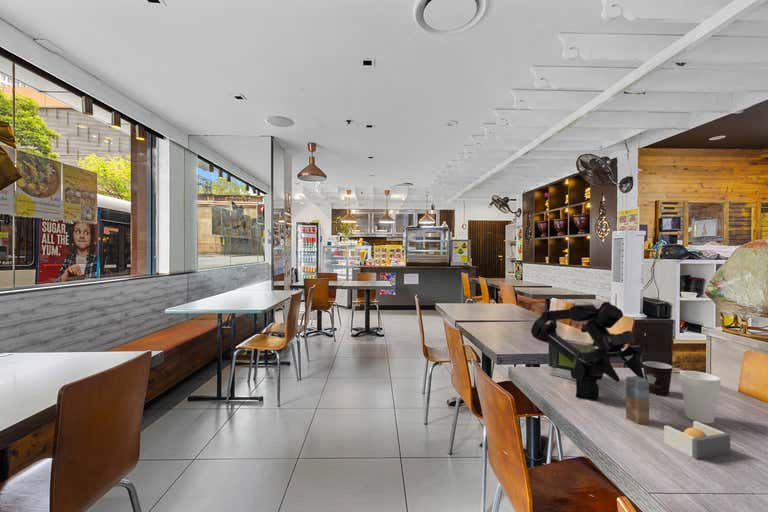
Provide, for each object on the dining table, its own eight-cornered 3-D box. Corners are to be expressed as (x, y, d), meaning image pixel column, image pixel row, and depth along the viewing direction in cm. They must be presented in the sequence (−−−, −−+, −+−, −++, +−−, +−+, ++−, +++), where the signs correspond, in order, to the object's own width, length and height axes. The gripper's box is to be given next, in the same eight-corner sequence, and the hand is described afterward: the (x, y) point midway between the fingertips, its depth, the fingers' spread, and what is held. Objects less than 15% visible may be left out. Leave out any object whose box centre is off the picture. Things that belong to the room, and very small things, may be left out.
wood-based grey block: (626, 418, 111) (625, 377, 111) (636, 416, 112) (636, 375, 112) (638, 424, 107) (638, 381, 107) (649, 422, 108) (648, 380, 108)
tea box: (596, 378, 148) (596, 341, 148) (586, 383, 142) (586, 345, 142) (558, 369, 160) (558, 335, 160) (547, 374, 153) (547, 339, 153)
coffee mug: (679, 397, 128) (678, 368, 128) (653, 397, 128) (653, 368, 128) (655, 385, 139) (654, 359, 139) (632, 385, 139) (631, 359, 139)
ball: (686, 432, 92) (682, 448, 94) (712, 440, 90) (707, 457, 91) (684, 420, 96) (680, 436, 98) (708, 428, 94) (704, 444, 95)
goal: (664, 443, 96) (664, 425, 96) (696, 437, 99) (695, 421, 99) (696, 459, 89) (696, 440, 89) (730, 453, 91) (730, 434, 91)
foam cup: (711, 428, 105) (710, 382, 105) (673, 415, 113) (673, 373, 113) (726, 421, 109) (726, 377, 109) (689, 409, 117) (689, 369, 117)
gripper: (591, 323, 115) (622, 369, 104) (638, 320, 119) (673, 364, 109) (572, 343, 123) (599, 387, 112) (618, 339, 127) (648, 382, 116)
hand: (630, 379), depth 112 cm, fingers open, 9 cm apart
